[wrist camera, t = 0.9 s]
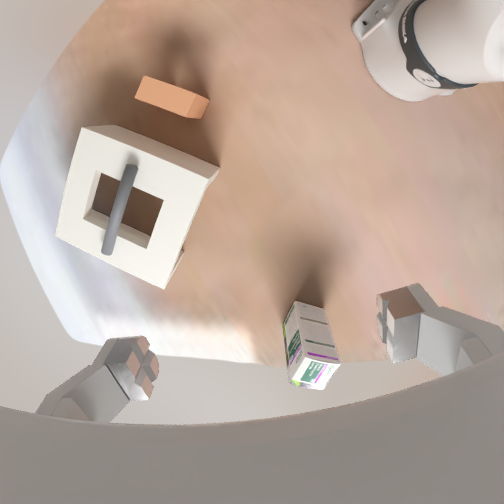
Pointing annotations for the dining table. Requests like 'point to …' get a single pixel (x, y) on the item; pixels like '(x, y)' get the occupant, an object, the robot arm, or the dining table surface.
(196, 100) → the notched wooden block
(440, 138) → the dining table surface
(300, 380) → the syrup box
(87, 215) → the shelf
